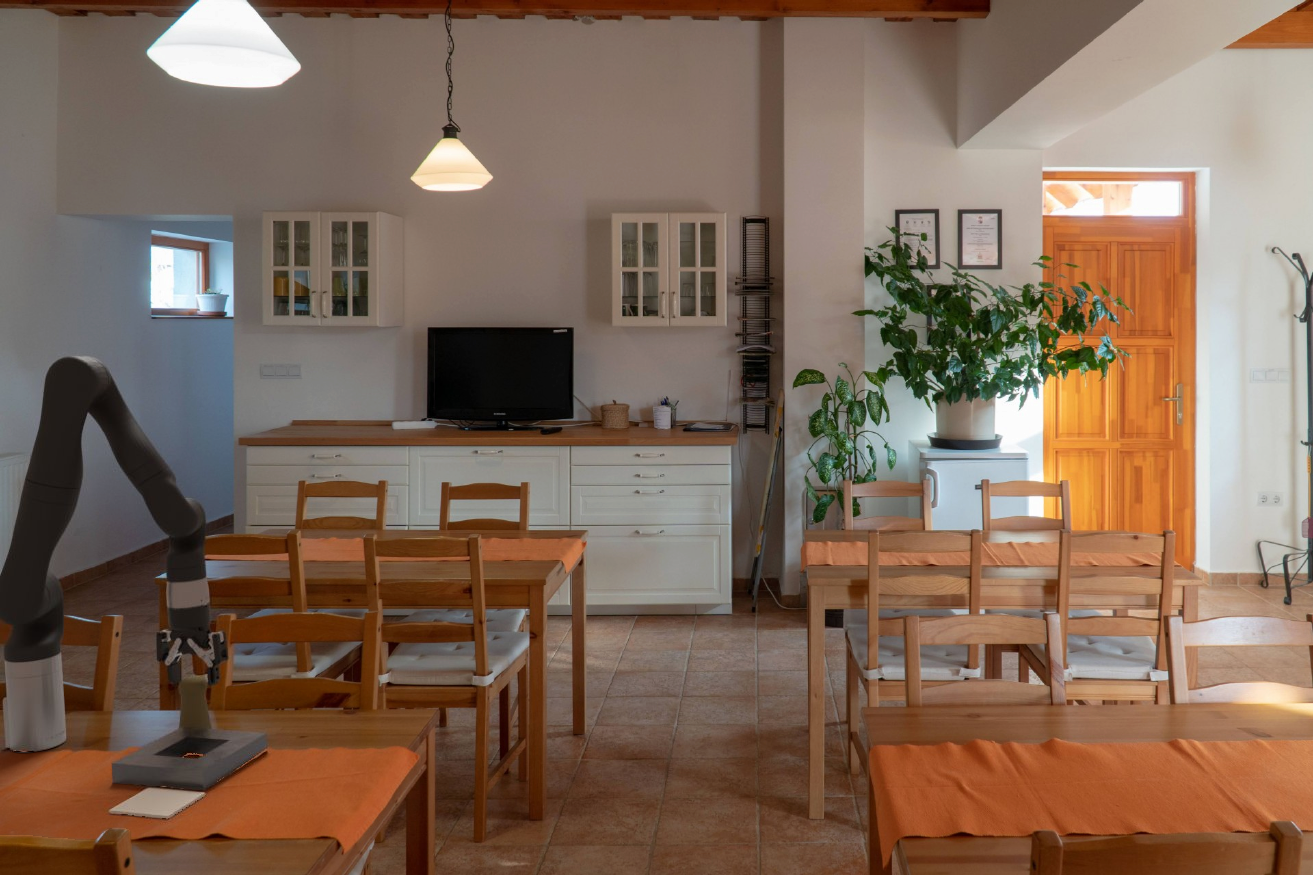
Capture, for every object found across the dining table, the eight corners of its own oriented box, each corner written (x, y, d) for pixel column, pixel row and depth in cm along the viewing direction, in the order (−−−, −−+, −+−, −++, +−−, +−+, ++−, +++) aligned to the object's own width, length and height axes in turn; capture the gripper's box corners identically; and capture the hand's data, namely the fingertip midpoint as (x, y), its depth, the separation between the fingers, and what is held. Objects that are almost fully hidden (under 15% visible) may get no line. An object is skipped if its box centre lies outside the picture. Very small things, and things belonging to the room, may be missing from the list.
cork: (199, 739, 197) (196, 683, 197) (171, 737, 199) (168, 681, 198) (218, 728, 203) (215, 673, 203) (191, 726, 205) (188, 672, 204)
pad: (109, 813, 165) (108, 810, 165) (148, 790, 174) (148, 787, 174) (168, 819, 163) (168, 816, 163) (205, 795, 171) (205, 792, 171)
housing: (112, 783, 177) (111, 763, 177) (183, 744, 195) (182, 726, 194) (203, 791, 173) (202, 771, 173) (267, 751, 191) (266, 733, 190)
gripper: (143, 605, 197) (149, 688, 198) (207, 607, 194) (213, 691, 195) (170, 596, 204) (176, 676, 206) (232, 598, 201) (238, 679, 202)
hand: (194, 683), depth 200 cm, fingers open, 8 cm apart
